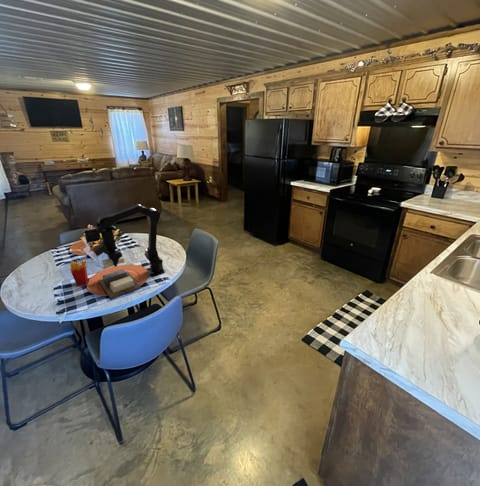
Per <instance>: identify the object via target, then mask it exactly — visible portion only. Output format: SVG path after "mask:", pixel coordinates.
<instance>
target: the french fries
mask: <svg viewBox="0 0 480 486" xmlns="http://www.w3.org/2000/svg"><path fill="white" fill-rule="evenodd" d="M87 262H88V260H87V259H85V260H84V259H83V260H82V261H81V260H79V259H77V260H76V261H73V260H71V261H70V264H69V265H70V268H69V271H70V273H71V276H72V278H73V280H74V282H75V284H76V287H79V286H84V285H85V286H86V285H88V281H89V278H88V272H87V271H88V270H87V265H86V263H87Z"/></svg>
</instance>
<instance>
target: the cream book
mask: <svg viewBox="0 0 480 486" xmlns="http://www.w3.org/2000/svg"><path fill="white" fill-rule="evenodd" d="M124 263H125V258H124V257H123V256H122V257H120V258H119V261H118V264H117V265H120V264H124ZM101 264H102V265H103V267H104V268H110V267H112V266H114V264H113V262H112V260H110V259H109V258H108V257H107V258H105V259H101Z"/></svg>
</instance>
